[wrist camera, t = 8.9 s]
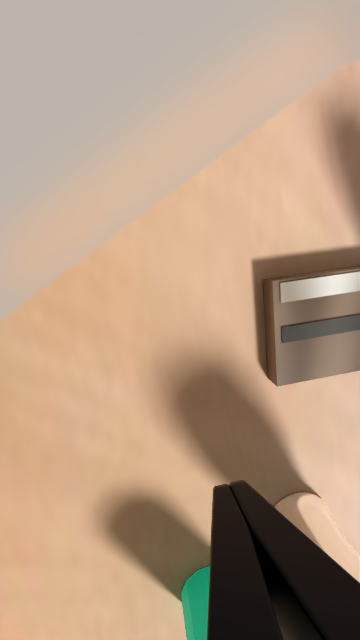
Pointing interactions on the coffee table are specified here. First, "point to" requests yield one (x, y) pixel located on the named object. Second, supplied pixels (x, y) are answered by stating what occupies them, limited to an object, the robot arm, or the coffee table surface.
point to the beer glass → (320, 528)
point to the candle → (196, 604)
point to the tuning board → (312, 325)
